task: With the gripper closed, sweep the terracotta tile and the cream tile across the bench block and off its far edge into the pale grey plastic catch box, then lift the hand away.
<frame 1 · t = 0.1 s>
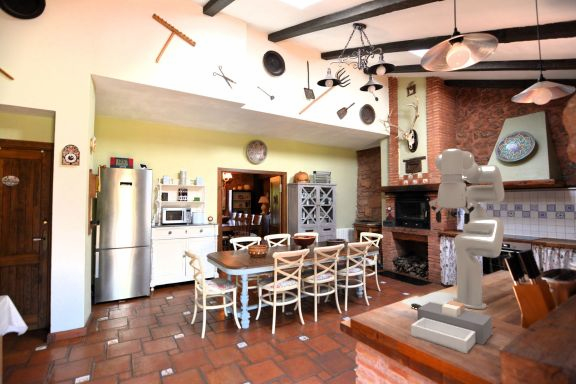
hand: (452, 223, 117), 37 cm above the counter, tool pointing down, fingers open, 9 cm apart
cream tile: (451, 313, 101), point 6 cm above the counter, touching bench block
cleaver: (449, 318, 115), on the counter
bench block: (453, 329, 103), on the counter
catch box: (442, 339, 95), on the counter
terracotta tile: (455, 310, 105), point 6 cm above the counter, touching bench block
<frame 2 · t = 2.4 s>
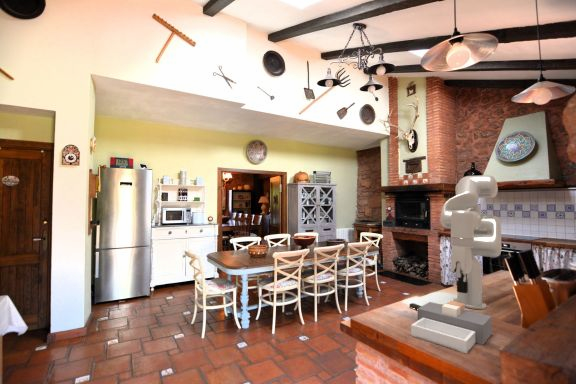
hand: (462, 292, 110), 11 cm above the counter, tool pointing down, fingers closed
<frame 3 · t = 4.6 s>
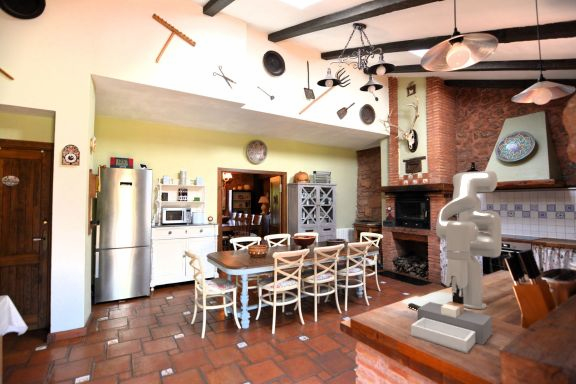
hand: (458, 306, 107), 7 cm above the counter, tool pointing down, fingers closed
cream tile: (450, 314, 101), point 6 cm above the counter, touching bench block, terracotta tile
terracotta tile: (454, 311, 104), point 6 cm above the counter, touching bench block, cream tile, gripper
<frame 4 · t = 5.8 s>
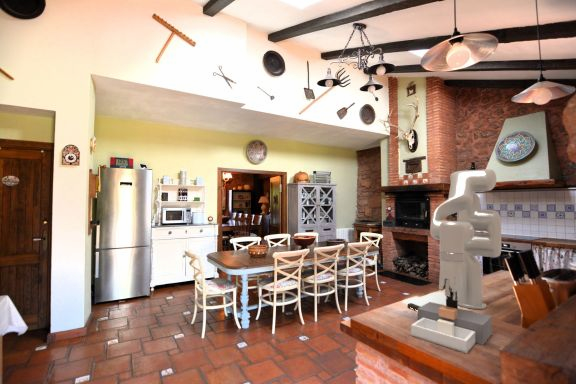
hand: (451, 311, 102), 7 cm above the counter, tool pointing down, fingers closed
cream tile: (446, 327, 97), point 3 cm above the counter, tilted 90°, touching catch box
terracotta tile: (448, 316, 99), point 6 cm above the counter, touching bench block, gripper
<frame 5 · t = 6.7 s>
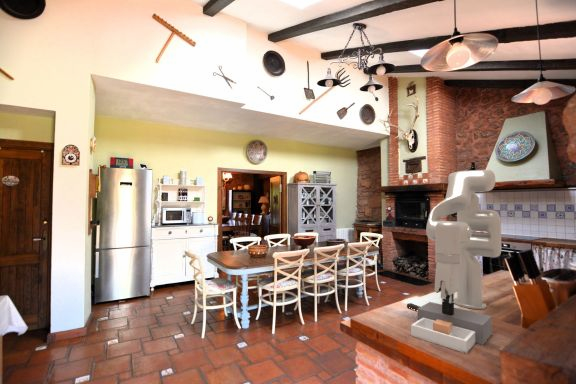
hand: (447, 314, 99), 7 cm above the counter, tool pointing down, fingers closed
cream tile: (442, 330, 94), point 3 cm above the counter, tilted 180°, touching catch box, terracotta tile
terracotta tile: (442, 330, 94), point 3 cm above the counter, touching cream tile
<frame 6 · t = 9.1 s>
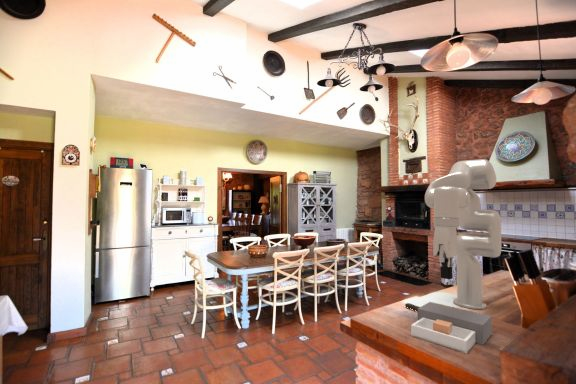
hand: (446, 278, 99), 19 cm above the counter, tool pointing down, fingers closed
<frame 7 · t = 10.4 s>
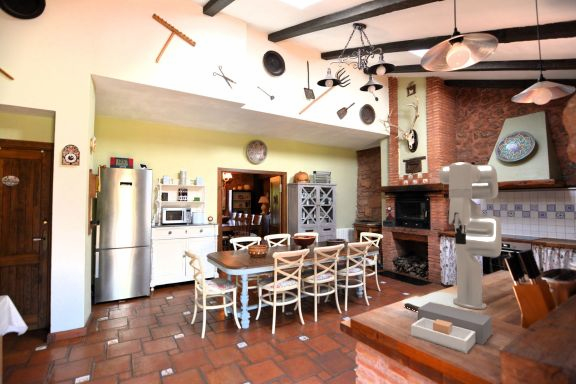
hand: (460, 243, 111), 29 cm above the counter, tool pointing down, fingers closed
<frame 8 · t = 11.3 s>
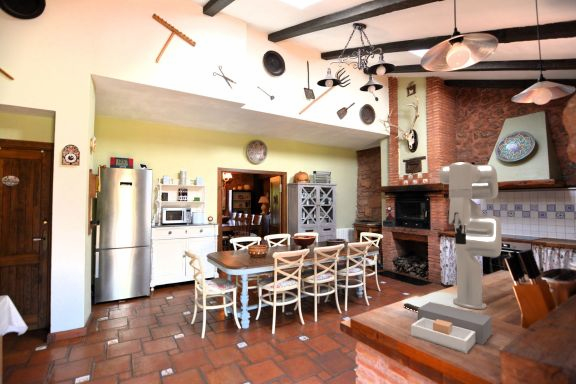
hand: (460, 243, 111), 29 cm above the counter, tool pointing down, fingers closed
at the end: terracotta tile inside the target area (0.4 cm from its centre), point 3.0 cm above the counter; cream tile inside the target area (0.5 cm from its centre), point 3.0 cm above the counter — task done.
